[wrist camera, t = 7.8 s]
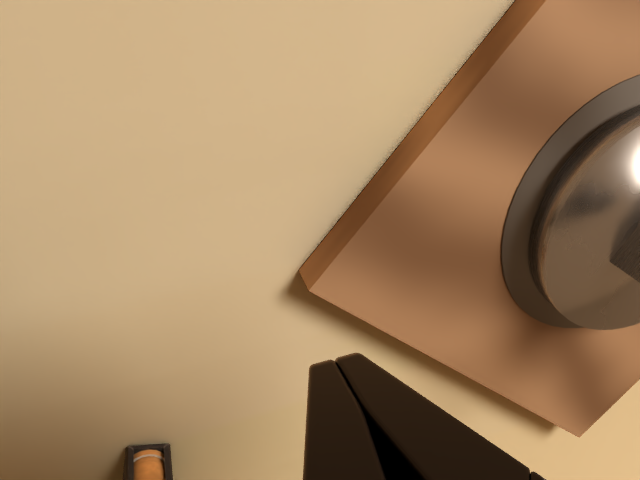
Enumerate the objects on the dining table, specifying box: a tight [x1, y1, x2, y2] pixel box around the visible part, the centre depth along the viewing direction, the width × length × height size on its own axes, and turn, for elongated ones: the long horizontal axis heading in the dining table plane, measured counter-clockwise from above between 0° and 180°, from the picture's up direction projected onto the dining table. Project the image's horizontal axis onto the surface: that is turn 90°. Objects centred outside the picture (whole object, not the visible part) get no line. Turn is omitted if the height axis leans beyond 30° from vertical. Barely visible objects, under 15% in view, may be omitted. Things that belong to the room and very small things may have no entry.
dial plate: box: [299, 0, 640, 437], centre depth 25 cm, size 20×20×2 cm
